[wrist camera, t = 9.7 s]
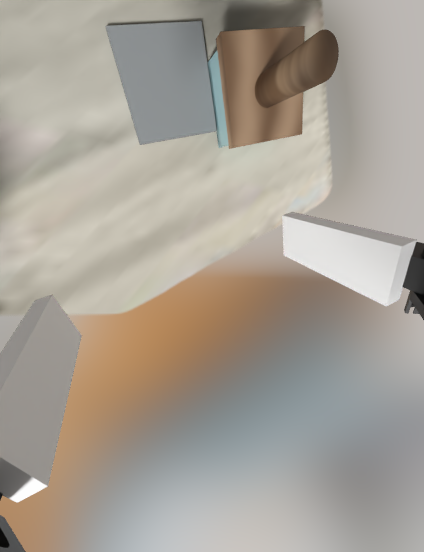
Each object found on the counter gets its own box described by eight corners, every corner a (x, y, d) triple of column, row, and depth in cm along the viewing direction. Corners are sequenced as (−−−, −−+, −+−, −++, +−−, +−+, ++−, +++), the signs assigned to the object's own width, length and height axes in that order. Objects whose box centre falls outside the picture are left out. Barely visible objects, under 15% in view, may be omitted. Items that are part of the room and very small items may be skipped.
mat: (140, 144, 30) (140, 144, 30) (106, 28, 25) (105, 25, 24) (215, 131, 33) (216, 130, 32) (200, 23, 27) (201, 20, 27)
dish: (218, 147, 34) (232, 144, 30) (207, 63, 29) (221, 44, 25) (273, 137, 36) (292, 132, 32) (270, 57, 31) (293, 39, 27)
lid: (229, 148, 30) (273, 138, 21) (215, 39, 25) (267, -38, 16) (295, 135, 32) (359, 121, 23) (296, 33, 27) (379, -36, 18)
